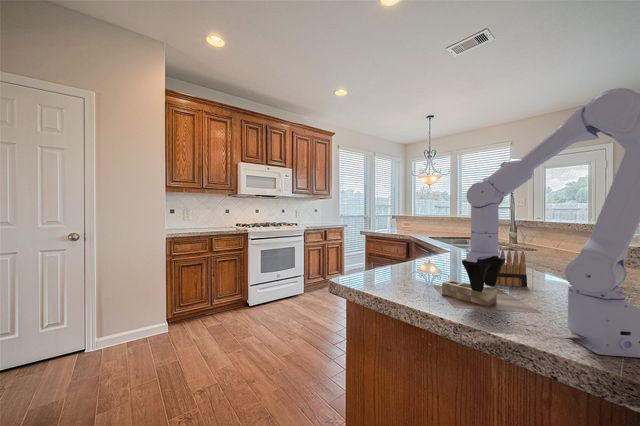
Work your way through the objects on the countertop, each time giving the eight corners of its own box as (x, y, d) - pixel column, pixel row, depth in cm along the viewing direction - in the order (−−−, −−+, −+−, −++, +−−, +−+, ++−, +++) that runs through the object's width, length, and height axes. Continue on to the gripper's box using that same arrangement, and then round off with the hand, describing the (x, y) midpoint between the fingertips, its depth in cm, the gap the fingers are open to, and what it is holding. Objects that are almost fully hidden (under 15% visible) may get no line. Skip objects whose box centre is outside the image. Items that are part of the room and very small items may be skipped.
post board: (541, 319, 57) (542, 296, 57) (454, 314, 59) (454, 292, 59) (497, 293, 75) (497, 276, 75) (431, 290, 77) (432, 273, 77)
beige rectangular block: (496, 301, 63) (496, 289, 63) (488, 306, 60) (488, 293, 60) (451, 290, 72) (451, 279, 72) (442, 293, 69) (442, 282, 69)
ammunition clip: (486, 289, 79) (487, 249, 79) (484, 287, 81) (485, 249, 81) (527, 292, 76) (528, 251, 76) (524, 290, 78) (524, 250, 78)
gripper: (479, 230, 71) (478, 280, 71) (453, 233, 62) (452, 289, 62) (509, 232, 65) (509, 286, 65) (485, 235, 56) (485, 297, 57)
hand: (483, 288), depth 63 cm, fingers open, 7 cm apart
